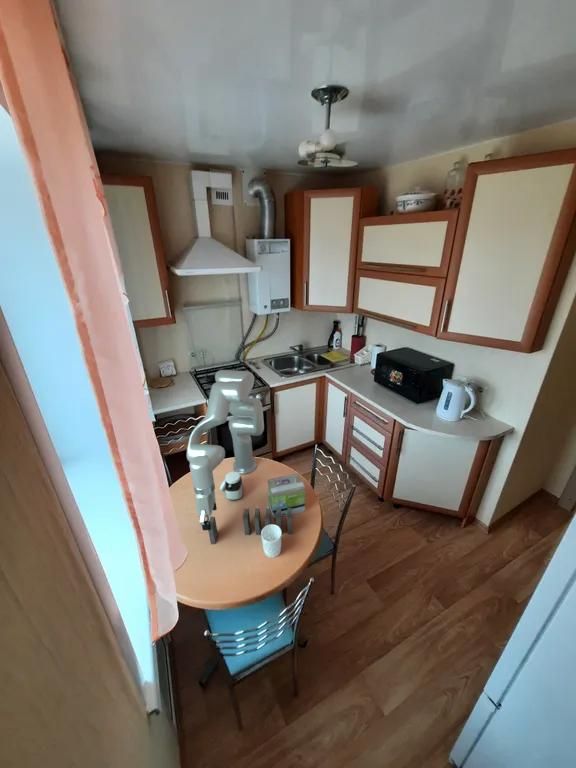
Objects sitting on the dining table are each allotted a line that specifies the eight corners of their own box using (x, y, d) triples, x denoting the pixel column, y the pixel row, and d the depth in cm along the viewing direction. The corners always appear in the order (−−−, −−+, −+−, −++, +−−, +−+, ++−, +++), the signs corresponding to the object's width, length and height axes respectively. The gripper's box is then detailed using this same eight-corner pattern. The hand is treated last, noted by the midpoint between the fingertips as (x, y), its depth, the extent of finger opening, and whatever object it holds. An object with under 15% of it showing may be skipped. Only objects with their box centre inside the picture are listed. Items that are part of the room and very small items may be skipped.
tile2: (256, 524, 136) (254, 508, 131) (261, 524, 136) (259, 508, 131) (255, 535, 131) (253, 518, 127) (260, 534, 131) (258, 518, 127)
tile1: (245, 525, 136) (243, 508, 131) (250, 525, 136) (248, 508, 131) (244, 535, 131) (242, 518, 127) (249, 535, 131) (247, 518, 127)
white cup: (271, 537, 130) (270, 520, 125) (286, 548, 125) (285, 531, 121) (258, 551, 124) (256, 534, 120) (273, 563, 120) (272, 546, 115)
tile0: (212, 533, 132) (209, 516, 128) (217, 533, 132) (214, 516, 128) (210, 544, 128) (206, 527, 124) (215, 543, 128) (212, 527, 123)
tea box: (273, 519, 138) (271, 495, 131) (268, 502, 147) (266, 478, 140) (305, 511, 141) (305, 487, 135) (299, 495, 150) (298, 471, 144)
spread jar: (241, 502, 147) (239, 484, 142) (217, 502, 147) (214, 484, 142) (245, 484, 158) (243, 466, 153) (222, 484, 158) (220, 466, 153)
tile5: (287, 524, 135) (286, 507, 131) (292, 524, 135) (291, 507, 131) (287, 534, 131) (286, 517, 127) (292, 534, 131) (291, 517, 127)
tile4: (276, 524, 136) (275, 508, 131) (281, 524, 136) (280, 508, 131) (276, 534, 131) (275, 517, 127) (281, 534, 131) (280, 517, 127)
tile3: (266, 524, 136) (265, 508, 131) (271, 524, 136) (270, 508, 131) (265, 534, 131) (264, 518, 127) (270, 534, 131) (269, 517, 127)
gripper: (200, 470, 125) (206, 502, 132) (187, 504, 109) (194, 538, 117) (219, 470, 125) (223, 502, 132) (208, 504, 109) (214, 538, 116)
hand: (210, 519), depth 124 cm, fingers open, 9 cm apart
